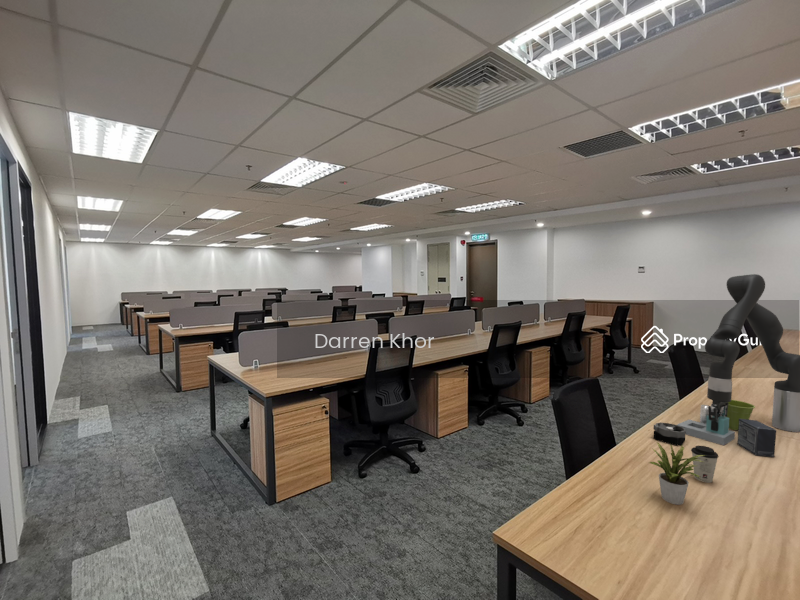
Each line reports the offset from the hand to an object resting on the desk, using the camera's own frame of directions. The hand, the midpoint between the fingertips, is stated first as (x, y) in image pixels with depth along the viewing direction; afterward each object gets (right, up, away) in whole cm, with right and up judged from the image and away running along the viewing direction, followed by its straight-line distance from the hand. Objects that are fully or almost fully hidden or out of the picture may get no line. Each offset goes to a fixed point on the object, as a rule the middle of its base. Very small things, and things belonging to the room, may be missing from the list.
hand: (717, 428), depth 154 cm
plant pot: (+18, -4, +12) cm, 21 cm away
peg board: (-2, -4, +4) cm, 6 cm away
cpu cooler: (-21, -4, -2) cm, 21 cm away
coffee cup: (-32, -5, -32) cm, 45 cm away
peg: (+4, -4, +11) cm, 12 cm away
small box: (+6, -5, -11) cm, 13 cm away
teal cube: (0, -1, 0) cm, 1 cm away
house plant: (-50, -6, -45) cm, 68 cm away
